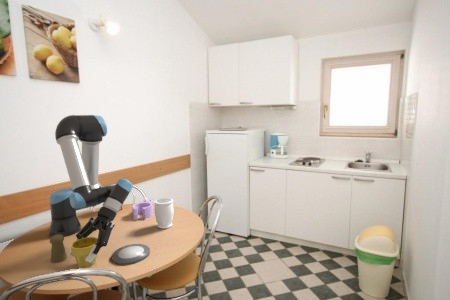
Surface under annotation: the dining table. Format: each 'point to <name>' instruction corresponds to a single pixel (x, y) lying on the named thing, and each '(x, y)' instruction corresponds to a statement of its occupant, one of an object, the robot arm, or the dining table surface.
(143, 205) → the clip
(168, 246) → the dining table surface
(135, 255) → the base
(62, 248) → the cork
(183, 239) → the dining table surface
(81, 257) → the plant pot
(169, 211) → the jar
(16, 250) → the dining table surface
